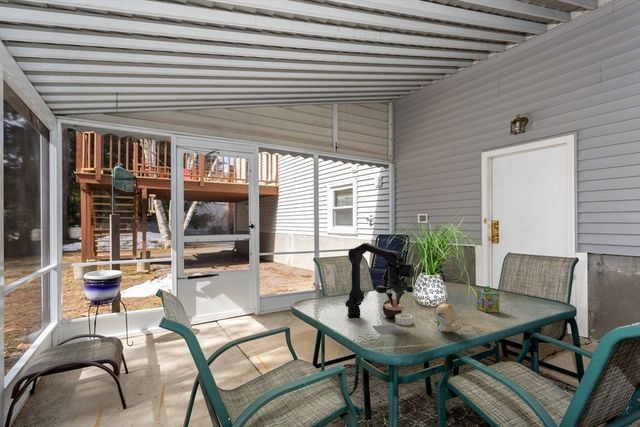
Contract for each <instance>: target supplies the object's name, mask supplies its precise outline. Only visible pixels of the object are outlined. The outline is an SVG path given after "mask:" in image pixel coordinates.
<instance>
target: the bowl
mask: <svg viewBox="0 0 640 427" xmlns="http://www.w3.org/2000/svg"><path fill="white" fill-rule="evenodd" d="M413 322H414V321H413V315H411V314H410V313H405V312H404V313H401V314H396V315H395V318H394V323H395V324H396V325H400V326H411V325H413Z"/></svg>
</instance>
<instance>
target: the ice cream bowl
mask: <svg viewBox="0 0 640 427" xmlns="http://www.w3.org/2000/svg"><path fill="white" fill-rule="evenodd" d="M388 303H390V301H389V299H388V300H386V301H385V302H384V303H383V306H382V311H383V314H384V315H385V317H387V318H391V319H392V318H393V319H395V315H396V314H401V313H402V312H403V310H389V309H386V308H385V307H384V305H385V304H388ZM399 304H401V303H400V302H399ZM402 314H403V313H402Z"/></svg>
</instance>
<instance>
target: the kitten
mask: <svg viewBox="0 0 640 427" xmlns="http://www.w3.org/2000/svg"><path fill="white" fill-rule="evenodd" d="M434 316H435V319H436V320H437V321H436V323H437V328H438V331H439V332H440V333H443V332H444V333H451V332H458V331H460V330H461V329H462V325H460V324H457V326H456V327H455V328H454V327H453V326H452V324H455V323H456V320H457V312H456V310H455V308H454V304H453V303H449V304H448V303H447V302H446V301H445V299H444V298H443V299H441V304H439V305H438V306H437V307H436V309H434Z"/></svg>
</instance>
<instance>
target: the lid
mask: <svg viewBox="0 0 640 427" xmlns="http://www.w3.org/2000/svg"><path fill="white" fill-rule="evenodd" d="M392 302H393V305H392V306H391V304H390V303H388V304H385V305H384V304H383V305H384V307H385V308H386V309H389V310H402V311H403V310H405V309H406V308H405V305H404V304H401V303H400V304H398V306H397V299H396V297H395V298H394V297H392Z"/></svg>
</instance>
